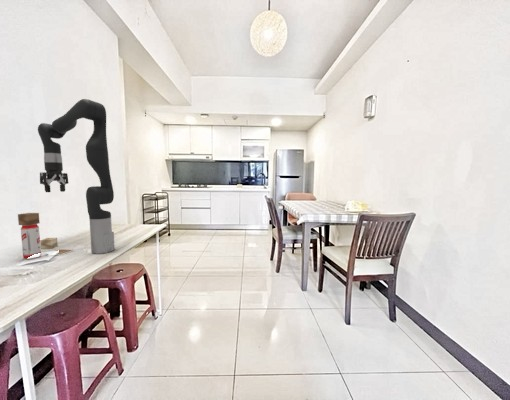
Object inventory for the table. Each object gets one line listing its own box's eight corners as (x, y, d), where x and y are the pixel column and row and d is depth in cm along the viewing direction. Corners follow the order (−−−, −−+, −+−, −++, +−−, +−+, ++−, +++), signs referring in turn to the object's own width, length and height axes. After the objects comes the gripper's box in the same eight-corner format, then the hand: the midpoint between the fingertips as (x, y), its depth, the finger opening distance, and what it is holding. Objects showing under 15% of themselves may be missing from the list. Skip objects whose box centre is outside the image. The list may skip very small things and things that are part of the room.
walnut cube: (39, 223, 113) (38, 212, 112) (28, 225, 108) (27, 214, 107) (30, 223, 113) (29, 212, 113) (18, 225, 108) (17, 214, 108)
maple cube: (57, 246, 131) (57, 237, 131) (51, 248, 127) (50, 239, 126) (47, 246, 131) (46, 237, 130) (41, 249, 126) (40, 240, 125)
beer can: (40, 254, 116) (37, 222, 115) (42, 257, 112) (39, 223, 111) (22, 257, 111) (19, 224, 110) (24, 260, 108) (21, 226, 106)
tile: (74, 250, 123) (74, 249, 123) (59, 255, 115) (59, 254, 115) (59, 250, 124) (59, 249, 124) (43, 255, 116) (43, 253, 115)
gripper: (47, 160, 121) (49, 192, 122) (71, 162, 135) (73, 191, 137) (33, 161, 122) (36, 192, 123) (59, 163, 136) (61, 191, 137)
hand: (55, 191), depth 130 cm, fingers open, 8 cm apart
